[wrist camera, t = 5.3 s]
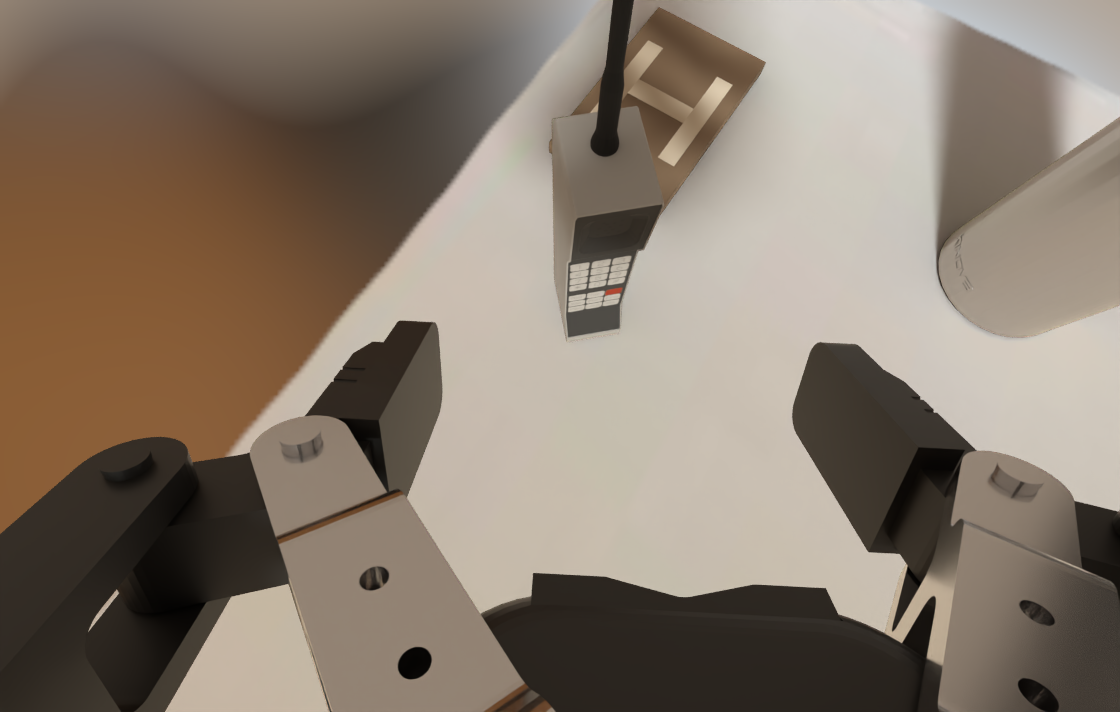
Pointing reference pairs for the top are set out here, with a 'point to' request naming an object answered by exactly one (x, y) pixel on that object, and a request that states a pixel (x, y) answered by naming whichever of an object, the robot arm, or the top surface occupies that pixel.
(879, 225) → the top surface
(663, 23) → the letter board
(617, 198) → the vintage mobile phone
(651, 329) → the top surface
